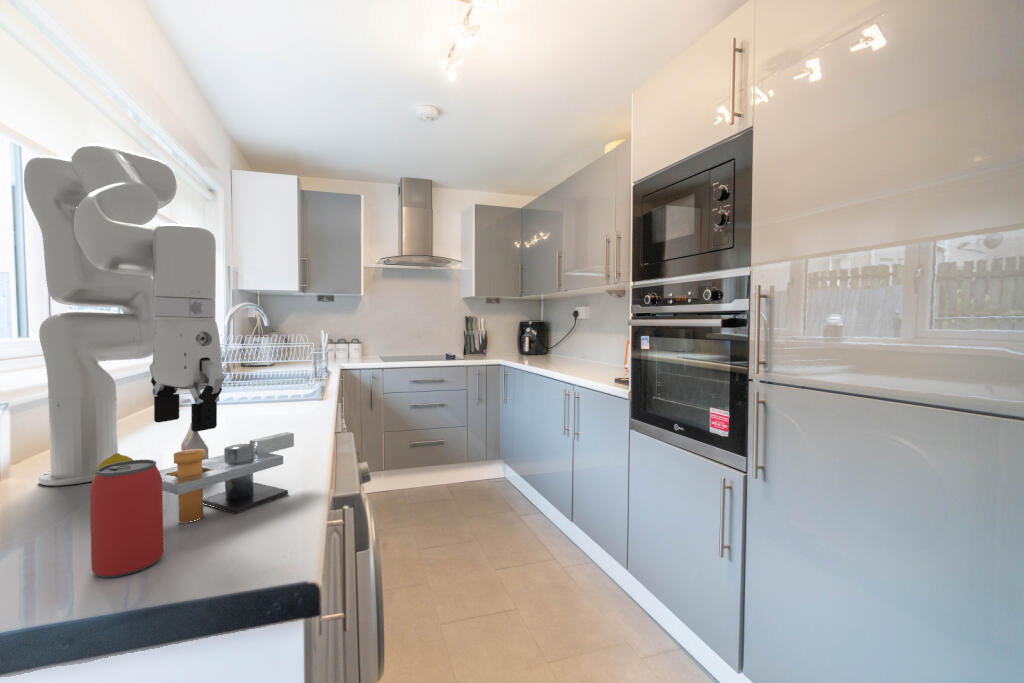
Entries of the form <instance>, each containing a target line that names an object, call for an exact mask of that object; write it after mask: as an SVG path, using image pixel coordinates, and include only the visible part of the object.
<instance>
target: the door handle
mask: <svg viewBox="0 0 1024 683" xmlns="http://www.w3.org/2000/svg"><path fill="white" fill-rule="evenodd" d="M294 434H295V433H294V432H289V431H288V432H287V431H285V432H281V433H277V434H273V435H269V436H263V437H259V438H255V439H254V438H253V439H251V440H249V443H239V444H233V445H228V446H225V447H224V448H223V449H224V451H223V453H224V454H221V455H217V456H214V457H208V458H209V459H205V460H202V473H200V474H196V475H192V476H189V477H185V478H178V471H177V465H176V466H173V467H172V466H171V467H169V468H164V469H161V470H160V469H159V472H160V474H161V477H162V492H165V493H169V494H173V495H176V496H178V495H180V494H184V493H187V492H190V491H194V490H197V489H201V488H203V489H204V488H207V487H210V486H213V485H217V484H220V483H224V486H225V487H224V491H222V492H219V493H216V494H213V495H209V496H207V497H203V503H204V504H207V505H211V506H214V507H217V508H220V509H222V510H221V511H224V510H225V512H227V513H231V514H235V515H237V514H240V513H242V512H245V511H248V510H250V509H252V508H256V507H258V506H261V505H265V504H267V503H269V502H271V501H274V500H278V499H280V498H283V497H287V495H289V490H288V489H285V488H280V487H276V486H272V485H269V484H268V485H267V484H263V483H259V482H255V481H254V474H255V473H258V472H262V471H265V470H268V469H272V468H274V467H278V466H281V465H284V455H282V454H276V453H273V452H278V451H281V450H285V449H289V448H292V447H295V435H294ZM217 508H216V509H217ZM220 509H219V510H220Z"/></svg>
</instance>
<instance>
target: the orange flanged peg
mask: <svg viewBox="0 0 1024 683" xmlns="http://www.w3.org/2000/svg"><path fill="white" fill-rule="evenodd" d="M204 459H205V450H204V449H190V450H184V451H181V450H180V451H177V452H174V453H173V464H176V466H177V471H178V478H185V477H189V476H192V475H196V474H200V473H202V460H204ZM203 491H204V488H201V489H197V490H194V491H190V492H187V493H184V494H180V495H177V498H178V499H177V503H178V505H177V506H178V522H179V521H180V522H190V521H194V520H197V519H199V518H202V517H203V518H204V505H203V498H204V492H203ZM203 518H202V519H203ZM197 521H198V520H197ZM180 522H179V523H180ZM194 522H195V521H194ZM190 523H191V522H190Z"/></svg>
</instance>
